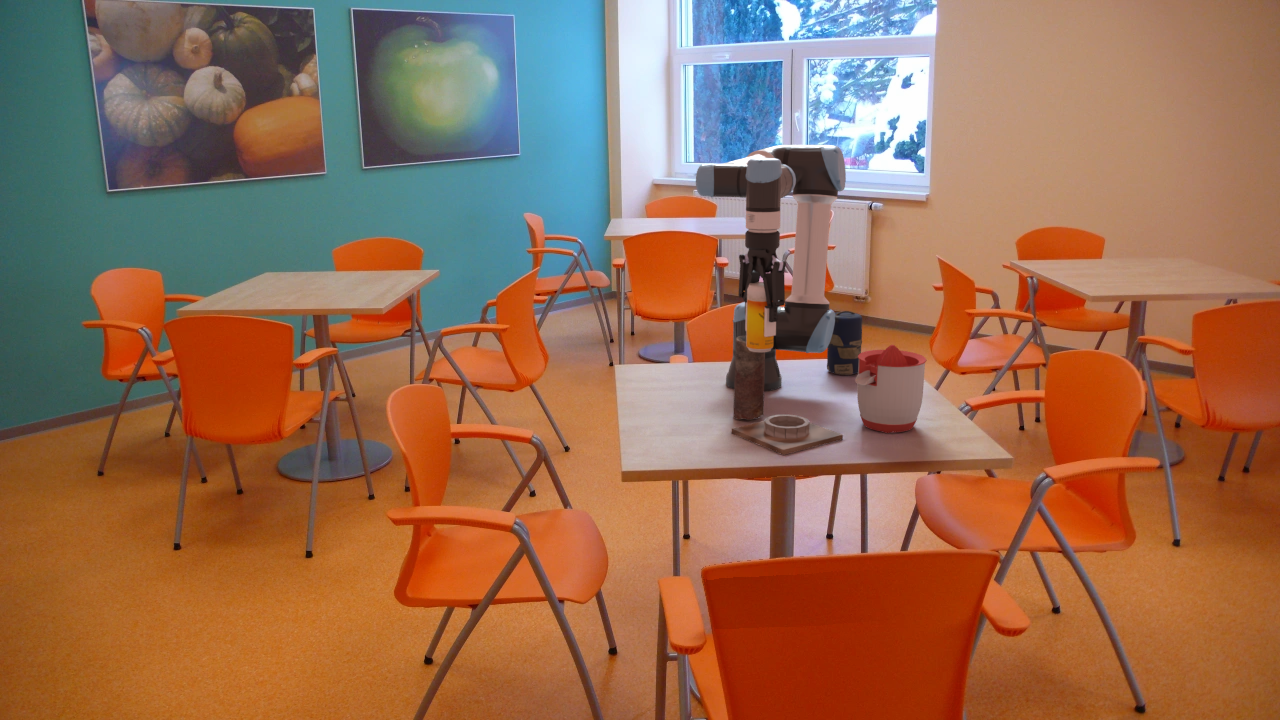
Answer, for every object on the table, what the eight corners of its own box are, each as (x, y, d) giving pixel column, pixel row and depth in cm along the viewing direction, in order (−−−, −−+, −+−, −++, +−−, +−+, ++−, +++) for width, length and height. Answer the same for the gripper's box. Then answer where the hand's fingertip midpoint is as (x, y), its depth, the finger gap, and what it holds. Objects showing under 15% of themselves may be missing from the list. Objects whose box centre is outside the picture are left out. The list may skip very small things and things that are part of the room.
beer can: (771, 353, 220) (773, 287, 216) (744, 352, 221) (745, 286, 217) (774, 347, 225) (776, 282, 222) (747, 345, 227) (749, 281, 223)
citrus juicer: (835, 423, 237) (838, 342, 232) (889, 412, 246) (894, 334, 241) (880, 442, 224) (885, 356, 219) (936, 429, 232) (942, 347, 227)
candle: (747, 411, 248) (748, 333, 243) (770, 417, 243) (772, 338, 238) (727, 417, 242) (728, 338, 237) (750, 424, 237) (752, 343, 232)
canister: (863, 376, 278) (866, 314, 273) (829, 377, 278) (832, 314, 273) (856, 368, 287) (859, 307, 282) (823, 368, 287) (826, 307, 283)
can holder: (731, 433, 231) (731, 418, 230) (789, 419, 241) (789, 405, 240) (783, 455, 216) (783, 439, 216) (842, 439, 226) (843, 424, 225)
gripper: (722, 227, 222) (721, 327, 228) (777, 236, 207) (774, 343, 213) (749, 224, 226) (747, 323, 232) (804, 233, 210) (801, 338, 216)
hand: (760, 332), depth 222 cm, fingers closed on beer can, 6 cm apart
